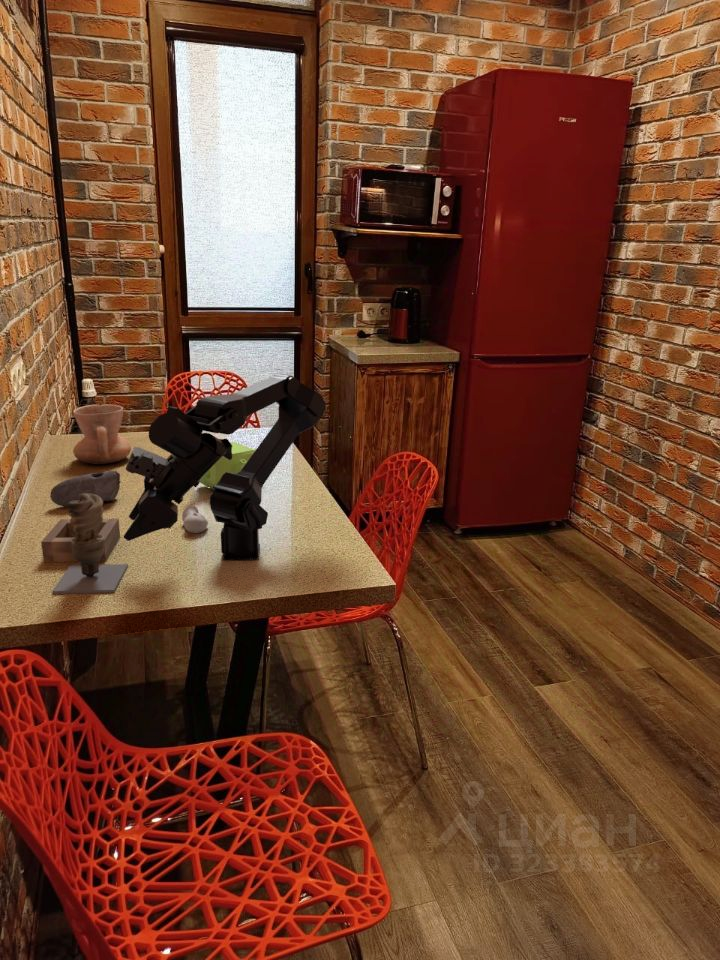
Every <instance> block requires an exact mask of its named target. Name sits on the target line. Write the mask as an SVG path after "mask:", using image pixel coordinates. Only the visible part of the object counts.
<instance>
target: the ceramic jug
mask: <svg viewBox="0 0 720 960" xmlns="http://www.w3.org/2000/svg"><path fill="white" fill-rule="evenodd" d="M73 415H74V418H75V421H76V423H77V425H78V427H79V429H80V431H81V432H82V434H83V436H84V437H83V438H81V440H80V441H78V442H77V443H76V444H75V445H74V447H73V450H72V451H73V455H74V457H75V458H76V459H77V460H79V461H81V462H83V463H85V464H93V465H105V464H112V463H116V462H120V461H122V460H125V458H127V457H128V456H130V453H131V452H132V451H131V450H132V446H131V444H130V442H129V441H128V440H127V439H125V438H124V437H121V436H120V435H119V434H118V433H119V431H120V428H121V425H122V421H123V415H124V407H123V406H121V405H117V404H108V403H106V404H101V405H99V404H89V405H84V406H80V407H78V408H74V409H73Z"/></svg>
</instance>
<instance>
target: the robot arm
mask: <svg viewBox="0 0 720 960" xmlns="http://www.w3.org/2000/svg"><path fill="white" fill-rule="evenodd" d="M275 403H276V404H278V410H277V411H278V418H277V420H276V422H275V423H274V425H273V426H272V427H271V428H270V430H269V431H268V433H267V434H266V435H265V437H264V438H263V439H262V441H261V442H260V444H259V445H258V446H257V448H255V449H256V450H255V452H254V453H253V455H252V456H251V457H250V459H249V460H248V461H247V463H246V464H245V466H244V467H243V468H242V470H241V471H240V472H239V473H237V474H233V473H229V472H226V473H225V474H223V475H222V477H221V479H220V481H219V482H218V483H217V484H216V485H215V486H213V489H214V490H213V489H212V492H211V494H210V496H209V507H210V511H211V513H212V514H213V517H214V519H215V522H217V523H221V524H223V527H222V528H221V531H220V549H221V550H220V551H221V553H222V554H223V556H222V557H223V561H231V560H233V561H234V560H237V561H238V560H239V561H240V560H244V561H245V560H258V559H259V557H260V549H261V544H260V542H259V541H260V539H259V538H260V537H259V536H260V535H259V530H261V529H263V526H264V525H266V524H267V520H268V515H269V513H268V512H267V511H266V510H265V508H263V506H261V503H262V491H263V490H262V488H263V486H264V484H265V483H266V481H267V480H268V478H270V476H271V475H272V473H273V472H274V470H275V469H276V467H277V466H278V465H279V463H280V462H281V461H282V459H283V457H284V456H285V454H286V453H287V451H288V450H289V449H290V448H291V446H292V444H294V441H296V438H297V437H298V436H299V435H300V434H301V433H303V432H306V431H307V430H309V429H311V428H313V427H315V426H316V424H318V423H319V421H320V420H322V418H323V416H324V414H325V412H326V409H327V405H326V401H325V400H324V397H323V396H322V394H321V393H320V392H317V391H315V390H314V389H313V388H311V387H309V386H307V385H306V384H303V383H302V382H301V381H300V380H299V379H298V378H296V377H295V376H293V375H290V374H289V375H288V374H282V373H274V374H271V375H270V376H269V377H267V378H266V379H263V380H261V381H258V382H256V383H254V384H251V385H249V386H247V387H245V388H242V389H240V390H238V391H236V392H233V393H229V394H213V395H207V396H204V397H201V398H200V399H198V400H197V402H196V403H195V405H194V406H193V407H192V408H190V409H189V410H187V411H186V412H184V411H183V410H182V409H180V408H179V407H175V406H168V407H167V410H166V412H164V413H162V414H160V415H159V416H157V417H156V418H155V419H154V421H152V422H151V423H150V425H149V428H148V439H149V441H150V443H152V445H154V446H157V447H158V448H160V449H162V450H163V451H165V452H167V453H169V454H170V455H169V456H168V457H167V458H165V457H163V456H161V455H159V454H157V453H154V452H151V451H149V450H146V449H144V448H141V447H139V446H138V447H136V446H133V448H132V451H131V452H130V453H131V454H129V459H128V461H127V464H126V467H125V470H126V471H127V472H128V473H131V474H136V475H139V476H142V477H144V479H143V485H144V490H143V492H142V494H141V495H140V497H139V499H138V500H137V502H136V503H135V505H134V507H133V508H132V510H131V511H130V513H129V515H128V518H129V519H130V520H131V521H133V522H132V523H131V524H130V526H129V527H128V528H127V530H126V532H125V533H124V535H123V539H125V540H126V541H128V542H130V541H132V540H135V539H137V538H140V537H142V536H145V535H148V534H150V533H153V532H156V531H159V530H162V529H164V530H165V529H171V528H172V527H173V526H174V524H176V523H177V522H178V519H179V518H178V517H179V510H178V509H179V508H178V505H180V504H181V503H182V502H183V501H184V496H185V495H186V494H187V493H189V491H190V490H191V489H192V488H193V487H194V488H197V487H198V486H199V484H201V483H200V479H201V478H202V476H203V475H204V474H205V473H206V472H207V471H208V470H209V469H210V468H211V467H212V466H213V465H214V464H215V463H216V462H217V461H218V460H219V459H220V458H221V457H222V456H224V457H225V458H227V459H229V460H231V459H232V444H231V441H229V440H228V438H218V437H216V436H214V434H222V435H227V436H228V435H229V436H230V435H232V434H234V433H235V432H237V431H238V430H239V429H240V428H241V427H243V426H244V425H245V423H246V421H247V419H248V417H249V416H251V415H253V414H255V413H257V412H259V411H261V410H263V409H265V408H267V407H269V406H271V405H273V404H275ZM211 433H213V434H211ZM173 501H174V502H175V503H174V502H173ZM176 503H177V504H176Z"/></svg>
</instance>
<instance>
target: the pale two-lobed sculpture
mask: <svg viewBox="0 0 720 960" xmlns="http://www.w3.org/2000/svg"><path fill="white" fill-rule="evenodd" d="M181 515H182V517H181V518H182V522H183V526H184V528H185V530H187V531H188V532H189V533H191V534H197V533H202V532H205V530H206V529H207V526H208V525H209V522H208V521H207V519H206V518H205V516H204V515H203V514H202V513H199V510H198V508H197V506H195V505H193V504H191V505H188V506H186V507H185V508H184V510H183V512H182V514H181Z"/></svg>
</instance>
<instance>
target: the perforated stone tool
mask: <svg viewBox="0 0 720 960" xmlns="http://www.w3.org/2000/svg"><path fill="white" fill-rule="evenodd" d="M120 483H121V473H120V472H118V471H117V470H110V471H101V472H100V471H99V472H91V473H87V474H83V475H78V476H75V477H71V478H68V479H66V480H64V481H63V480H62V481H61V482H59V483H57V484H56V485H54V486H53V487H52V489H50V490H51V491H50V495H49V496H50V501H52V502H53V503H54V504H56V505H57V506H60V507H67V504H68V502H70V501H73V500H80V499H79V495H80V494H84V493H89V494H95V495H97V496H99V497H100V498H101V499H102V501H103V503H104V502H107V503H108V502H113V501H115V499H116V497H117V495H118V494H119V491H120ZM67 508H68V507H67Z"/></svg>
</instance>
